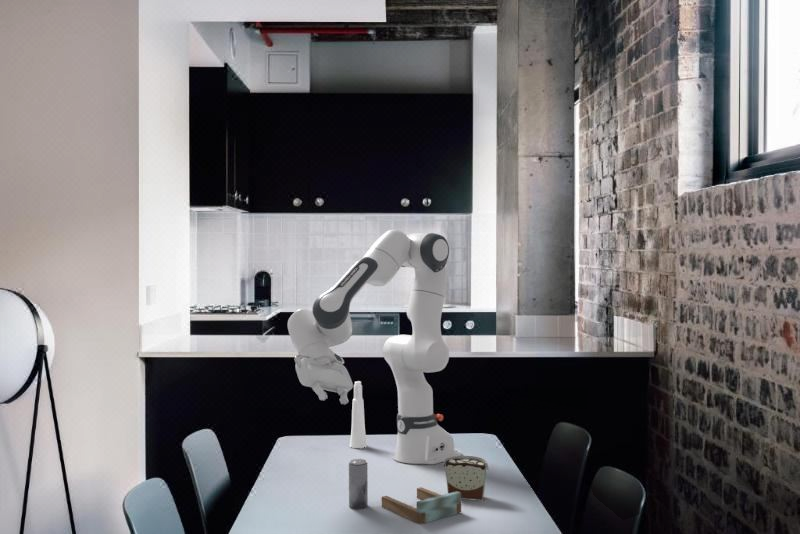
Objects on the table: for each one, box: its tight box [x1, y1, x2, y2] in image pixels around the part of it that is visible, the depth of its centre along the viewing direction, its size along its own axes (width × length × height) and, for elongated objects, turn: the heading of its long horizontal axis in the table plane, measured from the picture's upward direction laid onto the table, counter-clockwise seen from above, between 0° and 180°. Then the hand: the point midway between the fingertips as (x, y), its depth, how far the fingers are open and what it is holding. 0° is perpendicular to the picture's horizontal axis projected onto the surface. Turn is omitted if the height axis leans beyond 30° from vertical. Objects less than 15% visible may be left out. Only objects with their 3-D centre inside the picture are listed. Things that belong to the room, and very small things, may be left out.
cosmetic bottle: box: [348, 380, 368, 449], centre depth 252 cm, size 6×6×22 cm
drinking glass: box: [348, 458, 369, 510], centre depth 191 cm, size 5×5×12 cm
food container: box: [442, 455, 489, 501], centre depth 199 cm, size 12×6×10 cm, turn 71°
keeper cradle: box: [381, 486, 462, 525], centre depth 188 cm, size 13×16×5 cm
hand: (334, 401), depth 202 cm, fingers open, 8 cm apart
